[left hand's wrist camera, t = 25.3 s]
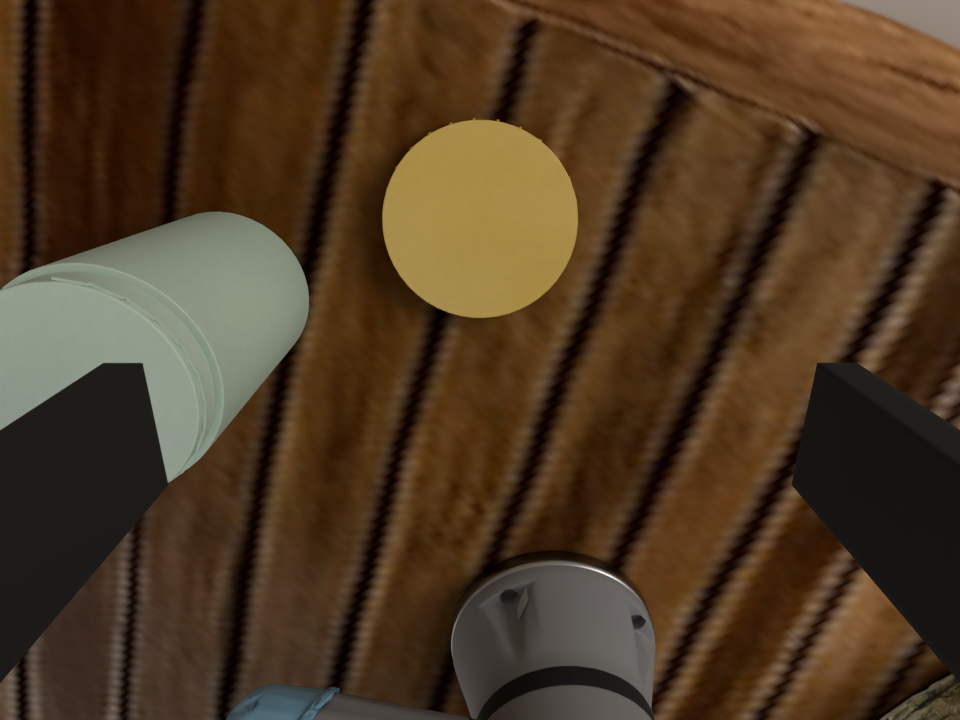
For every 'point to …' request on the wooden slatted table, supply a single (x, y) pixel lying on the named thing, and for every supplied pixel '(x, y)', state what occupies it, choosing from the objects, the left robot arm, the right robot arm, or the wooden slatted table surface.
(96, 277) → the jar
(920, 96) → the wooden slatted table surface
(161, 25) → the wooden slatted table surface
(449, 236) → the lid
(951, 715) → the fossil
